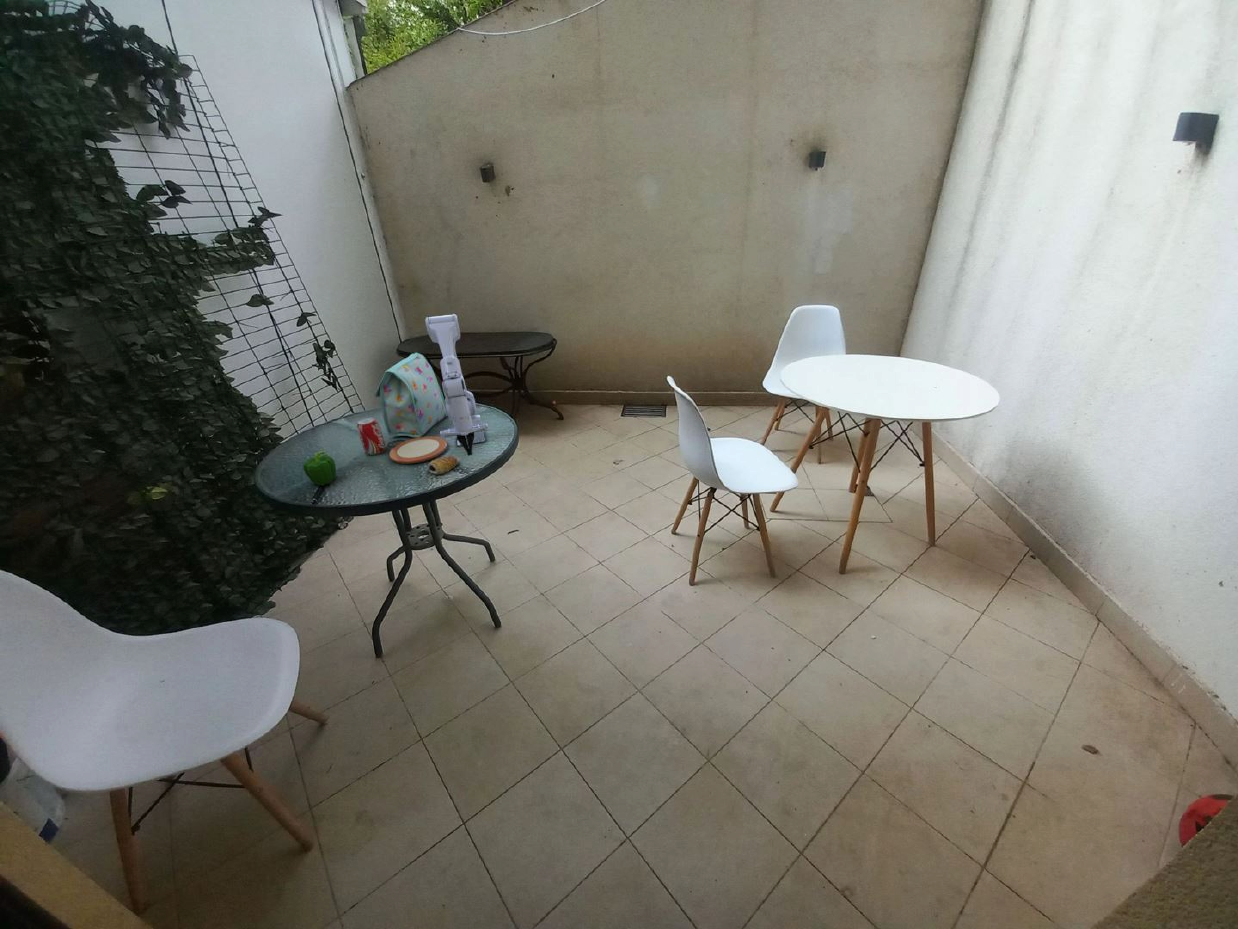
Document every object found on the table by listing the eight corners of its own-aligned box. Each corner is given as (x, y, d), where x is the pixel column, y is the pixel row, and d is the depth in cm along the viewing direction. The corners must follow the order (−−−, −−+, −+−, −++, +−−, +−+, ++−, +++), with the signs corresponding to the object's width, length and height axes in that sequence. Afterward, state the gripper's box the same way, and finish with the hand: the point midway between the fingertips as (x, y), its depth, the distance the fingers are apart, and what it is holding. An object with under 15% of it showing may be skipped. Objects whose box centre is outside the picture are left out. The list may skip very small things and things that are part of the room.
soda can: (379, 456, 166) (368, 424, 160) (361, 455, 167) (350, 424, 161) (390, 447, 172) (381, 416, 166) (373, 446, 173) (362, 416, 167)
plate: (447, 436, 177) (446, 432, 177) (447, 458, 161) (446, 454, 161) (393, 445, 173) (392, 441, 172) (387, 469, 157) (386, 465, 156)
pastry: (450, 459, 161) (447, 449, 159) (463, 464, 157) (460, 454, 155) (426, 472, 154) (423, 461, 152) (439, 477, 151) (436, 466, 149)
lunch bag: (415, 414, 198) (397, 350, 185) (452, 415, 196) (437, 350, 183) (384, 439, 178) (361, 369, 165) (425, 439, 176) (405, 369, 163)
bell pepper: (309, 490, 147) (296, 462, 142) (312, 478, 154) (300, 451, 149) (339, 484, 150) (328, 456, 145) (341, 472, 157) (330, 445, 152)
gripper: (436, 424, 144) (446, 463, 151) (485, 416, 147) (493, 455, 154) (437, 415, 150) (446, 454, 156) (484, 408, 153) (491, 446, 160)
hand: (469, 454), depth 156 cm, fingers closed
